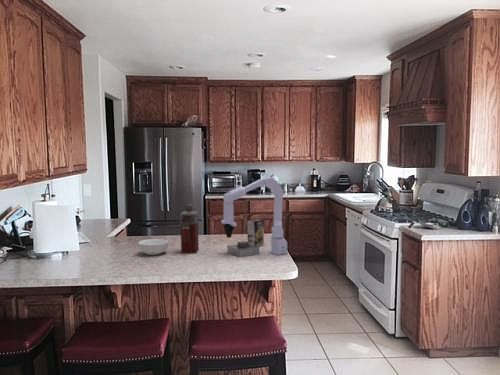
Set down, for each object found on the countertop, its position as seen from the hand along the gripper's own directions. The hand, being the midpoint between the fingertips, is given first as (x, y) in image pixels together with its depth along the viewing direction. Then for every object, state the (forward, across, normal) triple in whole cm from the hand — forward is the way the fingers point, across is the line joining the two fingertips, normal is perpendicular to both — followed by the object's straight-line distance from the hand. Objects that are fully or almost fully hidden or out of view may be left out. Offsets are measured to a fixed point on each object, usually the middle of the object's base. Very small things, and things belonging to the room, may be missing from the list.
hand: (229, 237), depth 243 cm
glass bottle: (+10, -17, -17) cm, 26 cm away
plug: (+8, +4, +7) cm, 12 cm away
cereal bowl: (+10, -25, -36) cm, 45 cm away
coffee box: (+10, -9, +24) cm, 27 cm away
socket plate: (+9, +4, +7) cm, 12 cm away
